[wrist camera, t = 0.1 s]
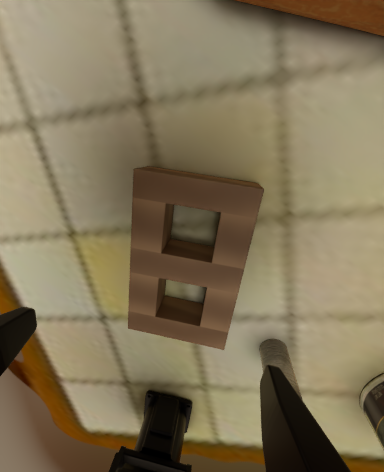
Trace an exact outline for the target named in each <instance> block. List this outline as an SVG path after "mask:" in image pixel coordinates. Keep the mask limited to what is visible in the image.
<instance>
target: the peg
mask: <svg viewBox="0 0 384 472" xmlns="http://www.w3.org/2000/svg"><path fill="white" fill-rule="evenodd" d="M260 355H261V361H262V368H263V373H264V370H265V367H266V366H267V365H268V364H269V365H274V366H277V367H279V368H280V369H281V370H282V372H283V373H284V375H285V376H286V378H287V379H288V381H289V382H290V383H291V385H292V386H293V388H294V389H295V391H296V392H297V394H298V395H299V397H300V398H301V399H302V397H301V394H300V390H299V387H298V384H297V380H296V377H295V374H294V370H293V367H292V364H291V360H290V357H289V354H288V350H287V347H286V345H285V344H284V343H283V342H282V341H280V340H277V339H269V340H266V341H264V342H263V343H262V344H261V345H260ZM302 401H303V400H302Z"/></svg>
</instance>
